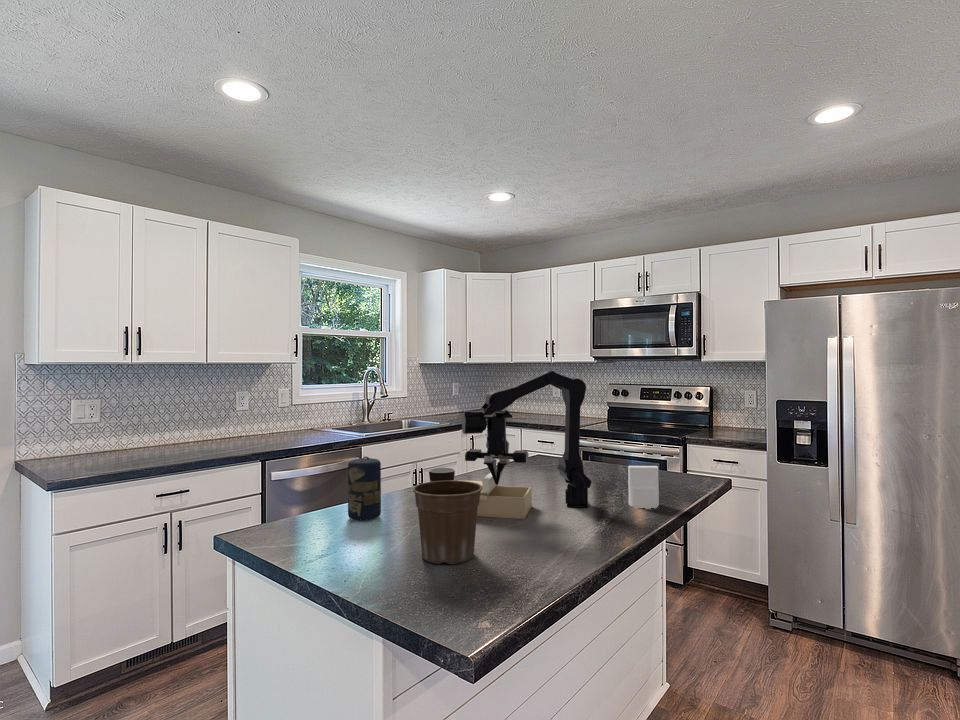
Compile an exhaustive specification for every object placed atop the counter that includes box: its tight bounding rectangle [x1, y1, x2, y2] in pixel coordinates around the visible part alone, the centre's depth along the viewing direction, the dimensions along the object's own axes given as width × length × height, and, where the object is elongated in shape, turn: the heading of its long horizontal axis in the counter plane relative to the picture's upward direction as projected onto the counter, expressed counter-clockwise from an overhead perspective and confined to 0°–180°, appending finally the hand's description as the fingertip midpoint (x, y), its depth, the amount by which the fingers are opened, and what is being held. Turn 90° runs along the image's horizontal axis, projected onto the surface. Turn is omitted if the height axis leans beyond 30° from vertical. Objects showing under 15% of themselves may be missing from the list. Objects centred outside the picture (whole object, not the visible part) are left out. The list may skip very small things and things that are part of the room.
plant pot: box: [412, 479, 483, 565], centre depth 127 cm, size 16×16×16 cm
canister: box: [347, 456, 382, 522], centre depth 159 cm, size 10×10×18 cm
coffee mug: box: [428, 467, 456, 482], centre depth 180 cm, size 12×9×10 cm
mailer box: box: [477, 485, 533, 520], centre depth 165 cm, size 16×14×6 cm
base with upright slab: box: [627, 465, 660, 510], centre depth 170 cm, size 9×9×12 cm
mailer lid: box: [456, 472, 499, 500], centre depth 168 cm, size 16×16×5 cm
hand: (497, 484), depth 165 cm, fingers closed
